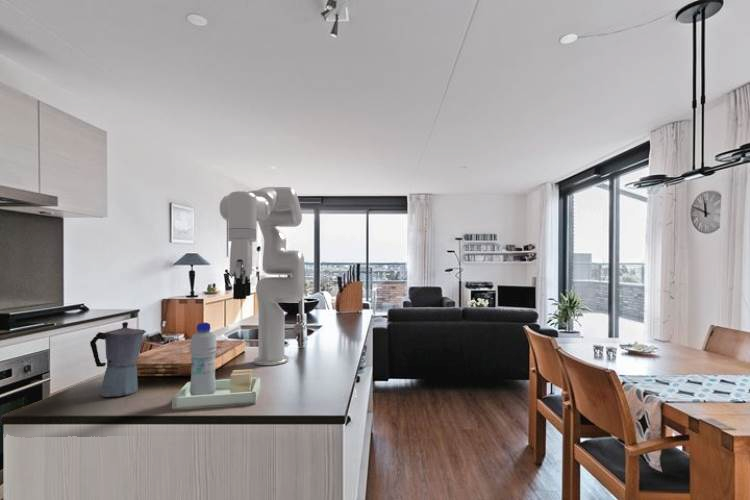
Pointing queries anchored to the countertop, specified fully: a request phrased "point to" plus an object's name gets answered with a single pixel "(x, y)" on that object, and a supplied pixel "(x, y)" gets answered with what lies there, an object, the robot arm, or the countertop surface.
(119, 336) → the moka pot
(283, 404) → the countertop surface
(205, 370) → the bottle
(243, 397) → the tray
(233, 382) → the block
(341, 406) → the countertop surface
